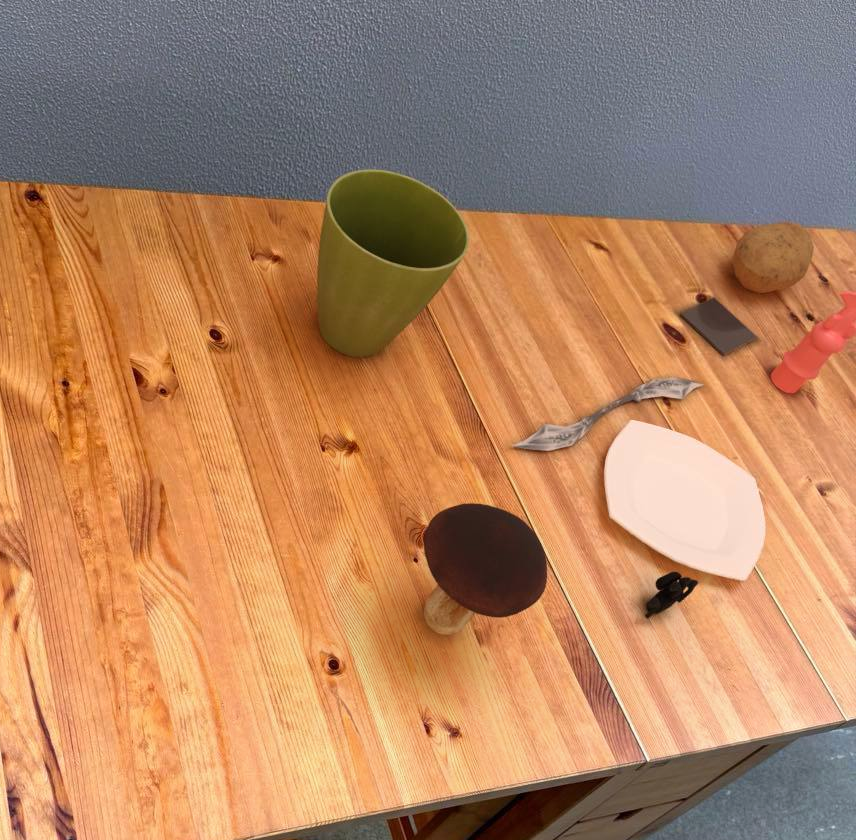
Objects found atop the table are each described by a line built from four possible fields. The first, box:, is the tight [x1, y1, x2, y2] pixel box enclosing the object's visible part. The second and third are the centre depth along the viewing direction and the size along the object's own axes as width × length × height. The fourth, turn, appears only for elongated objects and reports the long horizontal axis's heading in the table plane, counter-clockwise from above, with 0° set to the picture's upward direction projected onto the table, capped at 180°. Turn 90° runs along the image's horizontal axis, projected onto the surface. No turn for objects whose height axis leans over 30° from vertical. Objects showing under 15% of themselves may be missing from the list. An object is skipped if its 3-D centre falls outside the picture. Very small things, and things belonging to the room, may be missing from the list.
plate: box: [603, 419, 767, 582], centre depth 107 cm, size 19×19×2 cm
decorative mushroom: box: [423, 502, 548, 636], centre depth 84 cm, size 11×11×15 cm
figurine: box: [770, 290, 856, 394], centre depth 120 cm, size 5×5×15 cm
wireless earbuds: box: [644, 571, 699, 619], centre depth 96 cm, size 7×2×5 cm, turn 121°
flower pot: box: [316, 168, 470, 359], centre depth 103 cm, size 15×15×16 cm
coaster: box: [679, 297, 758, 357], centre depth 129 cm, size 8×8×1 cm
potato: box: [733, 221, 815, 294], centre depth 135 cm, size 10×14×8 cm
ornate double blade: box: [511, 376, 704, 452], centre depth 113 cm, size 32×1×5 cm
